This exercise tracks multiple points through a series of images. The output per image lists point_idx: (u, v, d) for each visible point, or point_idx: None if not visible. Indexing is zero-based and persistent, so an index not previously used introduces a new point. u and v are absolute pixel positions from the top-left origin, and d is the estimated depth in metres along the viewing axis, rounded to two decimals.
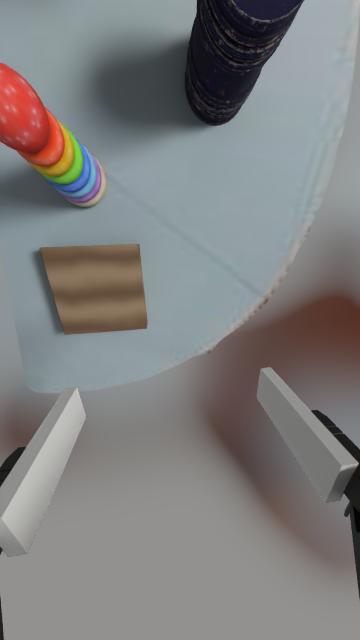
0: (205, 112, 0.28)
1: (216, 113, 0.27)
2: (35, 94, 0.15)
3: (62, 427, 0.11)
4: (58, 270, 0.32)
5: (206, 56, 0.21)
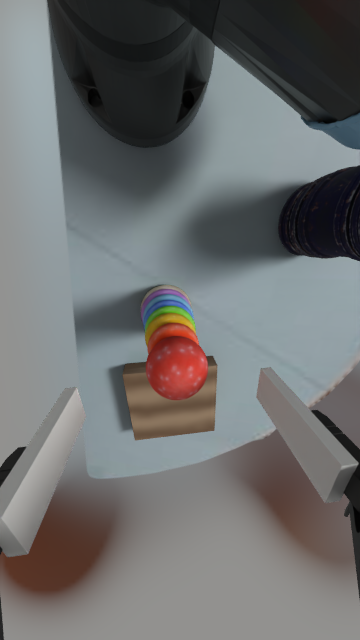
0: (299, 252, 0.27)
1: None
2: (206, 359, 0.15)
3: (62, 427, 0.11)
4: (138, 391, 0.32)
5: (331, 242, 0.21)
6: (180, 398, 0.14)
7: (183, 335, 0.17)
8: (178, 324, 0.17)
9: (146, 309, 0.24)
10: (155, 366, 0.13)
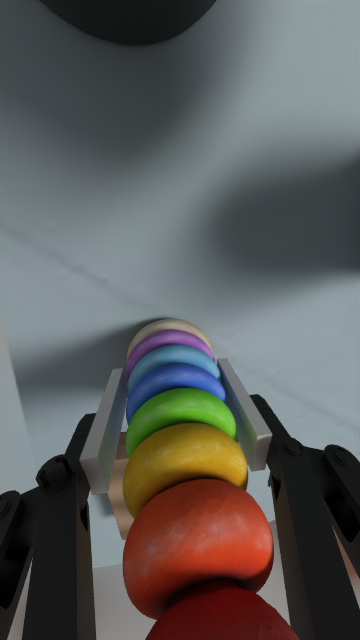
0: None
1: None
2: None
3: (118, 399, 0.12)
4: None
5: None
6: None
7: (239, 560, 0.05)
8: (219, 509, 0.05)
9: (132, 376, 0.12)
10: None
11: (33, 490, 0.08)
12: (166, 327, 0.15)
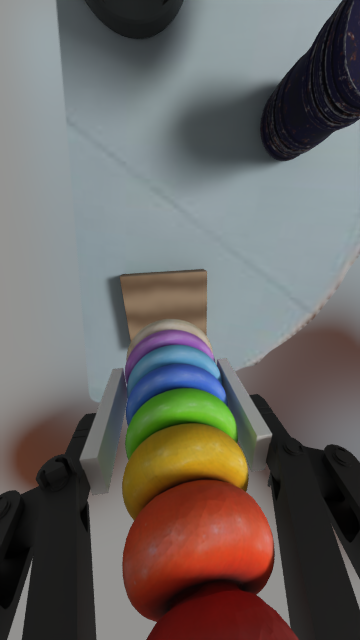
0: (280, 151, 0.30)
1: (292, 153, 0.29)
2: None
3: (118, 399, 0.12)
4: (134, 296, 0.35)
5: (302, 114, 0.23)
6: None
7: (239, 562, 0.05)
8: (219, 510, 0.05)
9: (132, 376, 0.12)
10: None
11: (33, 490, 0.08)
12: (166, 327, 0.15)
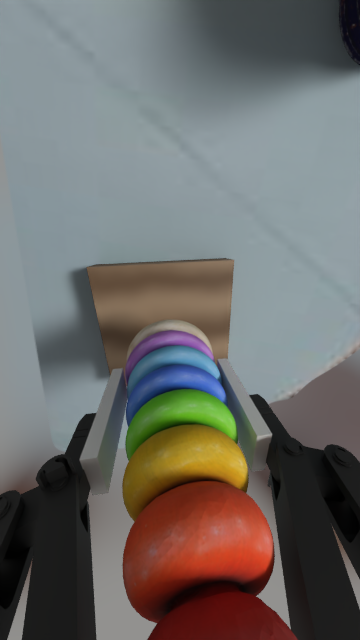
0: None
1: None
2: None
3: (118, 399, 0.12)
4: (113, 301, 0.21)
5: None
6: None
7: (239, 563, 0.05)
8: (219, 511, 0.05)
9: (132, 377, 0.12)
10: None
11: (33, 490, 0.08)
12: (166, 328, 0.15)
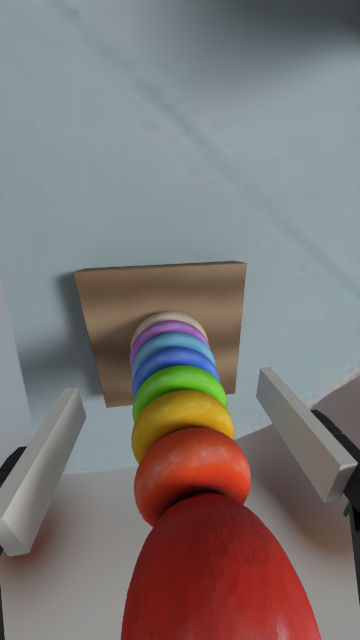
0: None
1: None
2: (316, 624, 0.05)
3: (62, 427, 0.11)
4: (105, 311, 0.18)
5: None
6: None
7: (221, 476, 0.07)
8: (207, 442, 0.07)
9: (136, 359, 0.14)
10: None
11: None
12: (166, 318, 0.17)
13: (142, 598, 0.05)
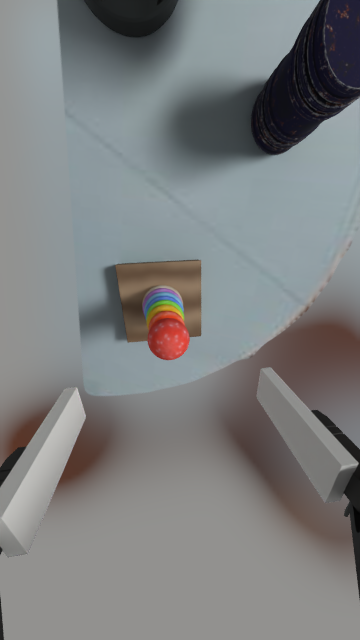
0: (270, 145, 0.31)
1: (281, 146, 0.30)
2: (187, 332, 0.22)
3: (62, 427, 0.11)
4: (129, 285, 0.36)
5: (288, 105, 0.24)
6: (170, 356, 0.21)
7: (173, 318, 0.24)
8: (170, 311, 0.25)
9: (146, 303, 0.32)
10: (154, 335, 0.21)
11: None
12: (160, 288, 0.35)
13: (152, 326, 0.22)
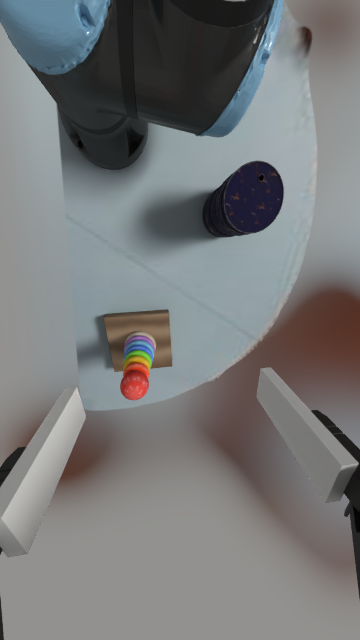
0: (216, 234, 0.42)
1: (223, 236, 0.42)
2: (146, 381, 0.34)
3: (62, 427, 0.11)
4: (114, 331, 0.47)
5: (218, 224, 0.36)
6: (134, 399, 0.33)
7: (139, 369, 0.36)
8: (137, 363, 0.36)
9: (126, 349, 0.43)
10: (123, 385, 0.32)
11: None
12: (137, 334, 0.46)
13: (123, 378, 0.34)
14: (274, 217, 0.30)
